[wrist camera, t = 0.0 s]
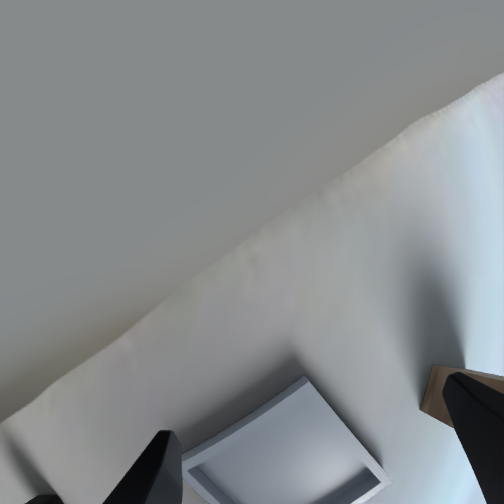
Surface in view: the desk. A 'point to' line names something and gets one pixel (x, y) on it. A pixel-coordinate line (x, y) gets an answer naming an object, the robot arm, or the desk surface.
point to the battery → (45, 500)
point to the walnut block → (433, 395)
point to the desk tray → (285, 456)
